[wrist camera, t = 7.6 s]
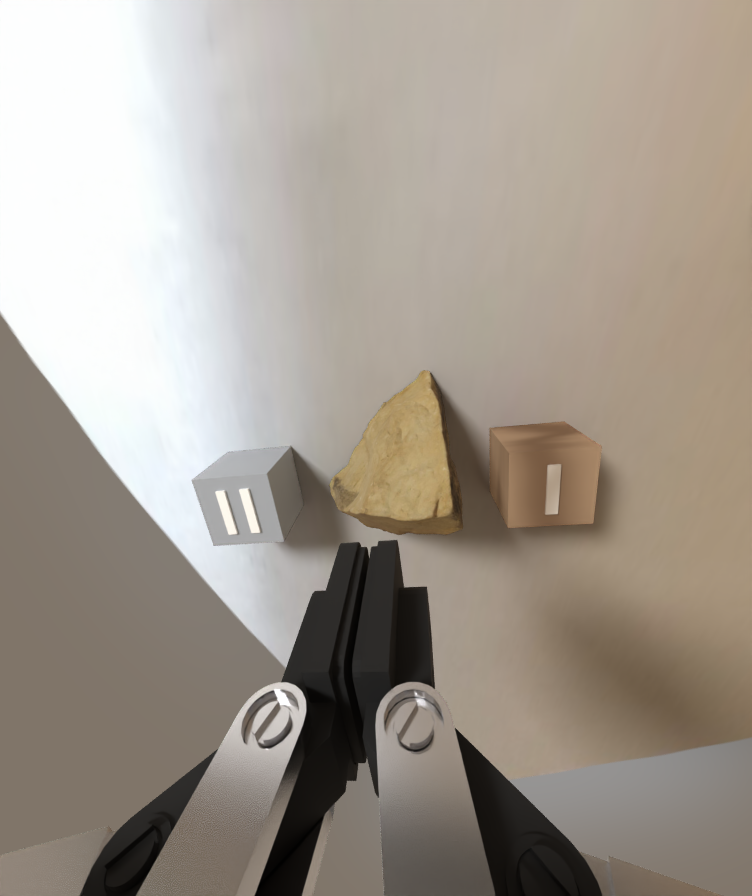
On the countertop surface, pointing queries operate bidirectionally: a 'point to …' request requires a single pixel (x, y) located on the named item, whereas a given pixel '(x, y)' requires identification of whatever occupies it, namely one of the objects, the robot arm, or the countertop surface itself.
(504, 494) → the walnut block
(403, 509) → the rock
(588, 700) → the countertop surface
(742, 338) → the countertop surface
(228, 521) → the grey block
